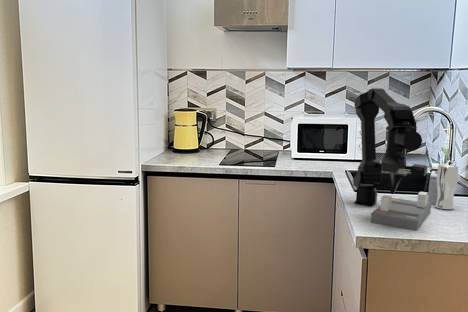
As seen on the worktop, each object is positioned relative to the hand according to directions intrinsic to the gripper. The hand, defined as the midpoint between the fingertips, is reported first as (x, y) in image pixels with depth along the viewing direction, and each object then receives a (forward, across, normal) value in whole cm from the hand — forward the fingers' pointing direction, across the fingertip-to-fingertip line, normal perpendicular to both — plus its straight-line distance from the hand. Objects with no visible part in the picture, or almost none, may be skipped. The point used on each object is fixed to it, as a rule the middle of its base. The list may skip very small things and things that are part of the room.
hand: (392, 193), depth 148 cm
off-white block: (+6, +7, +12) cm, 15 cm away
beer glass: (+9, +12, +26) cm, 31 cm away
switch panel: (+9, +2, +6) cm, 11 cm away
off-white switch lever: (+6, -2, 0) cm, 6 cm away
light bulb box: (+9, +9, +35) cm, 37 cm away
